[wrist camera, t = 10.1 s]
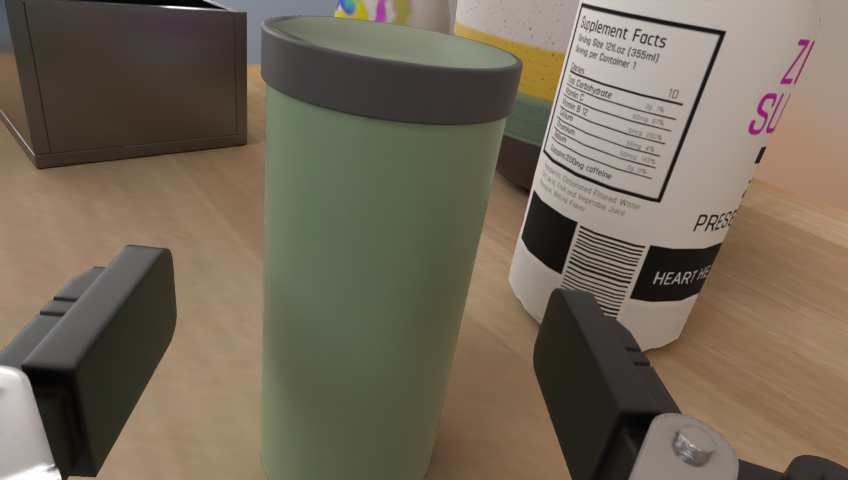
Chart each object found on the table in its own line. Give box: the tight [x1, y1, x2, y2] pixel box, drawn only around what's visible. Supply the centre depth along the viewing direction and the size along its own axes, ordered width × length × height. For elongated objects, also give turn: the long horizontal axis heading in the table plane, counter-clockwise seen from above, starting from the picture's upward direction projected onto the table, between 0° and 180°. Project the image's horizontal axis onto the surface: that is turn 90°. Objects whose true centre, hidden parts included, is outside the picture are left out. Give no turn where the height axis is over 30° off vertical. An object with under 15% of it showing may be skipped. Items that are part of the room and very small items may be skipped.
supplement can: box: [508, 0, 821, 352], centre depth 23 cm, size 8×8×15 cm
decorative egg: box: [335, 0, 450, 34], centre depth 57 cm, size 12×12×15 cm
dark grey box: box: [0, 0, 247, 168], centre depth 36 cm, size 14×13×9 cm
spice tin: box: [261, 16, 523, 480], centre depth 14 cm, size 5×5×12 cm
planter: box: [454, 0, 580, 191], centre depth 36 cm, size 20×20×21 cm
